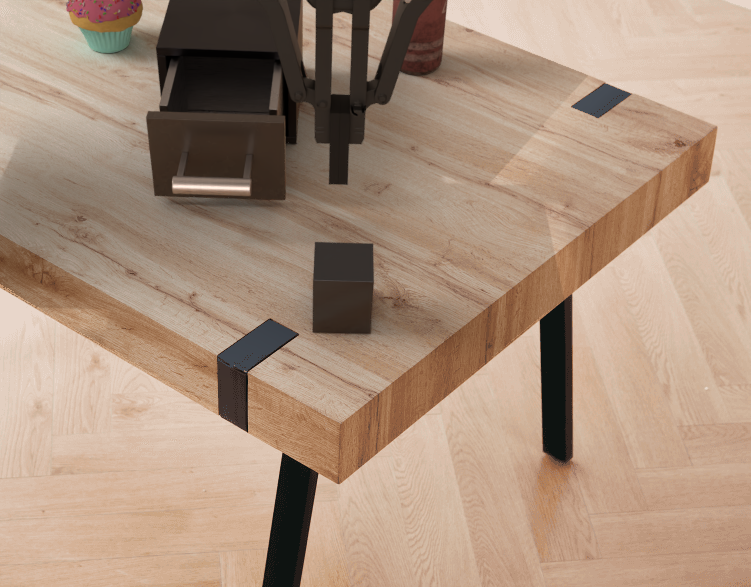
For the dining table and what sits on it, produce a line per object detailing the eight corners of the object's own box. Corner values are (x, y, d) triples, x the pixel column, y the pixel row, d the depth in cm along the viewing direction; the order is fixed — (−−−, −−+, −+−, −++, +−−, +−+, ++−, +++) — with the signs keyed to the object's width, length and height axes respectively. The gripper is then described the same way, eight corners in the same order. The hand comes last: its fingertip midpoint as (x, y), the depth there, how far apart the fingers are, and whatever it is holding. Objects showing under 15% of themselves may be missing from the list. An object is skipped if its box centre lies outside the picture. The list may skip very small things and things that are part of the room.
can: (403, 44, 130) (411, -68, 121) (449, 60, 128) (461, -53, 119) (378, 65, 126) (384, -49, 117) (425, 81, 124) (435, -34, 115)
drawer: (282, 236, 100) (281, 157, 94) (145, 232, 100) (136, 152, 94) (292, 118, 115) (292, 44, 109) (174, 114, 115) (167, 39, 109)
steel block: (312, 332, 92) (312, 279, 88) (314, 293, 96) (314, 241, 92) (370, 334, 92) (373, 281, 88) (370, 295, 96) (373, 243, 92)
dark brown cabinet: (296, 144, 113) (296, 52, 106) (164, 139, 113) (155, 47, 106) (302, 67, 125) (302, -20, 118) (183, 63, 125) (176, -25, 117)
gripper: (443, -142, 73) (418, 150, 88) (249, -150, 72) (258, 145, 88) (450, -98, 67) (422, 205, 83) (240, -106, 67) (252, 200, 82)
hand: (338, 174), depth 85 cm, fingers closed
